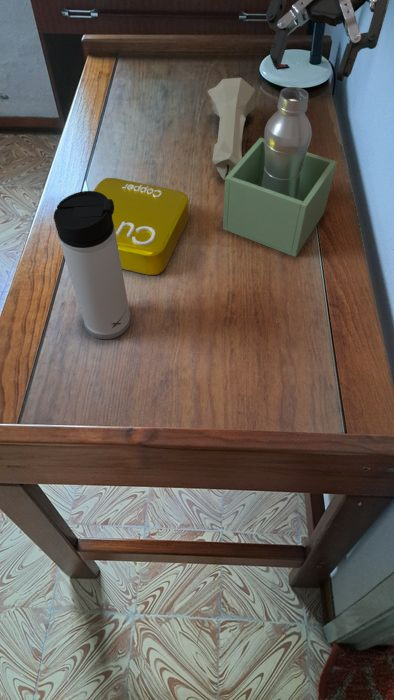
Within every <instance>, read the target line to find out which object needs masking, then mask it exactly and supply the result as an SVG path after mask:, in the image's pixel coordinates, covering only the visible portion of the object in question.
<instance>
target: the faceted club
mask: <svg viewBox="0 0 394 700" xmlns="http://www.w3.org/2000/svg"><path fill="white" fill-rule="evenodd" d="M207 93H208V95H209V97H210V98H211V102H212V109H213V112H214V114H215V115H216V116H218V117H219V124H218V134H217V142H216V143H215V144H214V145H213V152H212V162H213V164H214V167H215V168H216V170H217V172H218V173H219V175H220V176H221V178H222V180H223V181H225V177H226V176H227V175H228V174H229V173H230V172H231V171H232V169H233V168H234V167H235V166H236V165H237V164H238V162H239V161H240V160H241V159H242V158H243V156H242V155H243V154H242V152H243V151H242V150H243V149H242V148H243V147H242V146H243V133H244V126H245V123H246V118H247V117H248V116H249V114H251V113H252V112H253V110H254V109H255V107H256V89H255V88H254V87H253V86H252V85H251V84H249V83H248V82H247V81H246V80H244V78H242V77H232V78H222V79H221V81H220V82H219V83H218V84H217V85H216V86H214V87H212V88H210V89H208V90H207Z"/></svg>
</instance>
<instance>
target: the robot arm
mask: <svg viewBox="0 0 394 700" xmlns="http://www.w3.org/2000/svg"><path fill="white" fill-rule="evenodd" d="M287 1H288V0H270V3H269V5H268V8H267V10H266V13H265V19H266V22H267V25H268V27H269V29H270V30H274V31H275V34H274V37H273V41H272V44H271V47H270V50H269V56H270V59H271V62H272V65H273V67H276V68H280V67H281V64H282V61H283V59H284V54H285V52H286V49H287V45H288V43H289V40H290V39H289V36H290V34H292V33H293V32H294V31H295V30H296V29H298V28H300V27H302V26H304V24H306V23H307V22H308V21H309V20H311V21H312V23H314V24H324V23H325V24H326V25H328V26H330V27H335V28H336V27H337V26H338V25H341V24H342V26H343V29H344V33H345V36H346V37H347V40H348V42H347V43H346V44H345V47H344V51H343V55H342V57H341V61H340V63H339V66H338V68H337V73H336V81H339V82H343V81H344V79H345V78H349V77H350V75H351V74H352V72H353V68H354V66H355V62H356V60H357V57H358V54H359V52H360V51H362V50H363V49H369V50H373V49H375V48H376V47H377V46H378V42H379V38H380V35H381V32H382V29H383V28H382V27H383V25H384V21H385V17H386V13H387V11H388V7H389V3H390V0H297V1H296V2H295V3H293V4H292V6H291V7H290V10H289V11H287V13H285V14H284V15H283V12H284V10H285V7H286V4H287ZM366 3H368V4H369V11H370V13H372V17H371V19H370V23H369V28H368V30H367V32H362V33H361V31H360V28H359V24H358V22H357V16H356V14H355V13H356V12H358V10H359V9H360V8H362V6H364V5H365V4H366Z"/></svg>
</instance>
